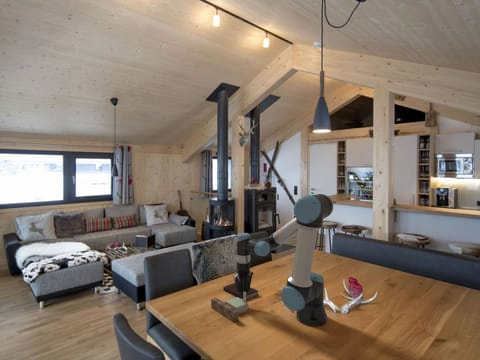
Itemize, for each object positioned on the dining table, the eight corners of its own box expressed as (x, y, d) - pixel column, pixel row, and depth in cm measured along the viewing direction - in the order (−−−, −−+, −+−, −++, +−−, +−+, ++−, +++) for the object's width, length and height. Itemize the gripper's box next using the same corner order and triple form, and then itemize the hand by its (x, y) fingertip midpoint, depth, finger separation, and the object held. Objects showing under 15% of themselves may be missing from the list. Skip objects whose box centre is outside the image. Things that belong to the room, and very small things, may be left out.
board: (238, 320, 147) (238, 310, 147) (233, 322, 146) (233, 312, 145) (215, 306, 163) (215, 297, 163) (211, 307, 161) (211, 298, 161)
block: (248, 310, 158) (248, 303, 158) (236, 315, 153) (236, 307, 153) (236, 303, 166) (236, 296, 166) (225, 307, 161) (225, 300, 161)
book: (242, 301, 169) (242, 296, 169) (223, 291, 184) (223, 285, 184) (258, 296, 177) (258, 290, 177) (238, 286, 192) (238, 281, 192)
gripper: (247, 257, 169) (247, 298, 170) (229, 262, 161) (229, 304, 162) (256, 260, 163) (256, 302, 164) (238, 265, 155) (238, 309, 156)
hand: (243, 303), depth 163 cm, fingers closed
